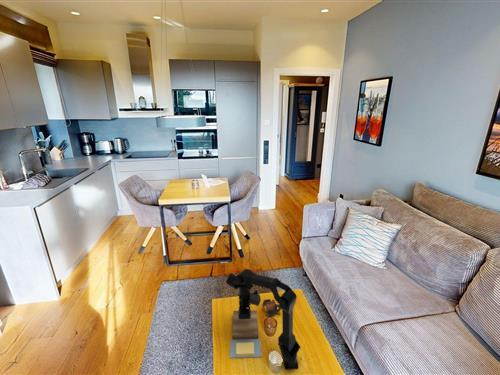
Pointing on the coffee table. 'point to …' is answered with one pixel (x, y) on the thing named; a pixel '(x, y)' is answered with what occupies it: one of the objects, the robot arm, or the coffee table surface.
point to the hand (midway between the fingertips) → (244, 315)
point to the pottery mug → (271, 307)
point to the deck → (245, 326)
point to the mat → (256, 342)
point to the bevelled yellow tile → (244, 349)
